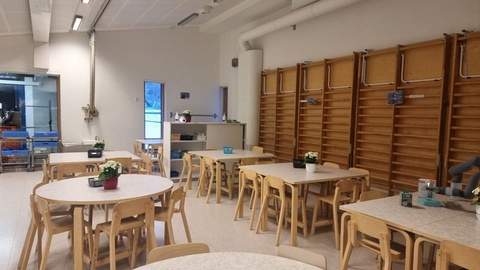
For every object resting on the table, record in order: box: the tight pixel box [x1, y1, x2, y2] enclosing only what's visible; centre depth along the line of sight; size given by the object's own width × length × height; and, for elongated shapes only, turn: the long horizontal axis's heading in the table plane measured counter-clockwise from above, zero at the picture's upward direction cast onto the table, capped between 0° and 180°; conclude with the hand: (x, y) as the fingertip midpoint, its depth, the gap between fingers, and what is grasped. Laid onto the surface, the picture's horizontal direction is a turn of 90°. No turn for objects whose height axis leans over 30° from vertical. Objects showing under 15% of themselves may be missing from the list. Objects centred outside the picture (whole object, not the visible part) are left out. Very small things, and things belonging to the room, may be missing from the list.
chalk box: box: [399, 188, 413, 208], centre depth 294 cm, size 9×9×15 cm
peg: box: [427, 182, 433, 198], centre depth 300 cm, size 4×4×14 cm
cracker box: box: [417, 178, 437, 200], centre depth 316 cm, size 14×6×21 cm, turn 43°
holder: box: [440, 200, 462, 209], centre depth 296 cm, size 12×12×3 cm
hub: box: [418, 198, 442, 207], centre depth 300 cm, size 14×14×4 cm
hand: (426, 188), depth 302 cm, fingers closed on peg, 4 cm apart
